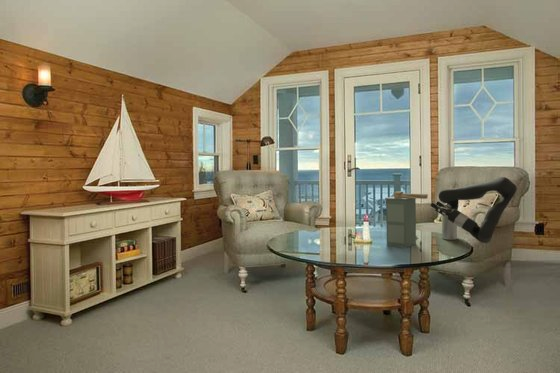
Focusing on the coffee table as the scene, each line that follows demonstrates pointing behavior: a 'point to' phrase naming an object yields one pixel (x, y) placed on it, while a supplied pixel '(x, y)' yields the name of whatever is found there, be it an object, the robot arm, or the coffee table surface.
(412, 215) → the cabinet
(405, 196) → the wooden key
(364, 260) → the coffee table surface
